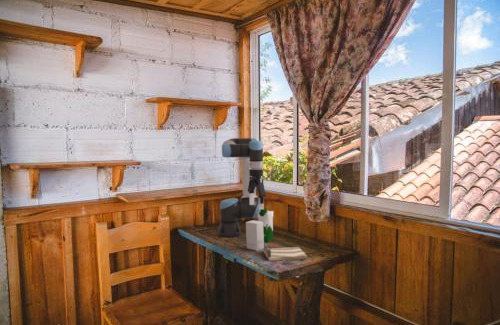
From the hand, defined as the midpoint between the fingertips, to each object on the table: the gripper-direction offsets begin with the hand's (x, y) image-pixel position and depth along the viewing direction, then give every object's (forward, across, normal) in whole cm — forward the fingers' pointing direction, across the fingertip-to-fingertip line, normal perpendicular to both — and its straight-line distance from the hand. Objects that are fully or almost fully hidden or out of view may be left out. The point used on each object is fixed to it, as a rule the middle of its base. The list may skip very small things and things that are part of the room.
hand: (256, 207), depth 200 cm
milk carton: (+25, -16, +13) cm, 33 cm away
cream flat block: (+24, +14, +11) cm, 30 cm away
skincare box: (+25, -3, 0) cm, 25 cm away
